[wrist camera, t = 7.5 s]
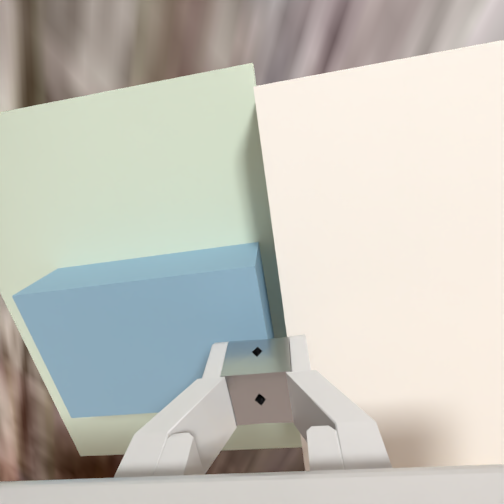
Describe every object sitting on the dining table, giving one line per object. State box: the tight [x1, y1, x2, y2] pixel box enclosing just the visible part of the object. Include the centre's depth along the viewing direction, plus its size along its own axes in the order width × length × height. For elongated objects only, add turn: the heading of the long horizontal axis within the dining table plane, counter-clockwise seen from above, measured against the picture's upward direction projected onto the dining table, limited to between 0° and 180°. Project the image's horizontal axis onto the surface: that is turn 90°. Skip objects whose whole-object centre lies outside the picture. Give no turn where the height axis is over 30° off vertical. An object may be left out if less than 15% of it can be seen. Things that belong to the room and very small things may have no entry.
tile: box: [12, 242, 274, 418], centre depth 13 cm, size 6×9×2 cm, turn 99°
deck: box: [253, 40, 504, 471], centre depth 12 cm, size 16×12×2 cm
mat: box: [0, 63, 302, 456], centre depth 14 cm, size 18×13×1 cm
